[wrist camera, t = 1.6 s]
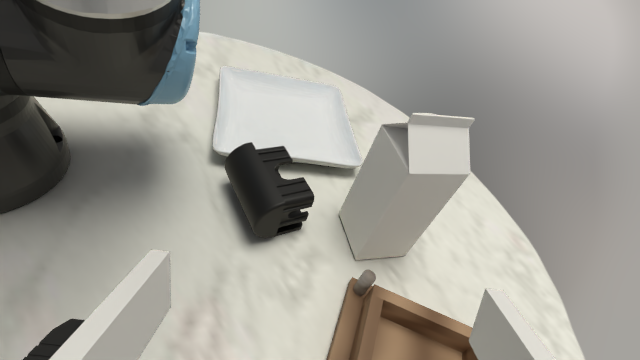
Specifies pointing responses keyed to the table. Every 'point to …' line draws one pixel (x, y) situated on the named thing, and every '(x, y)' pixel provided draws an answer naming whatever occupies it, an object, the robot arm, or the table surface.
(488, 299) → the robot arm
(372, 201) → the milk carton
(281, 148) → the end cap
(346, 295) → the jig
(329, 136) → the salad plate
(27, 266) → the table surface
